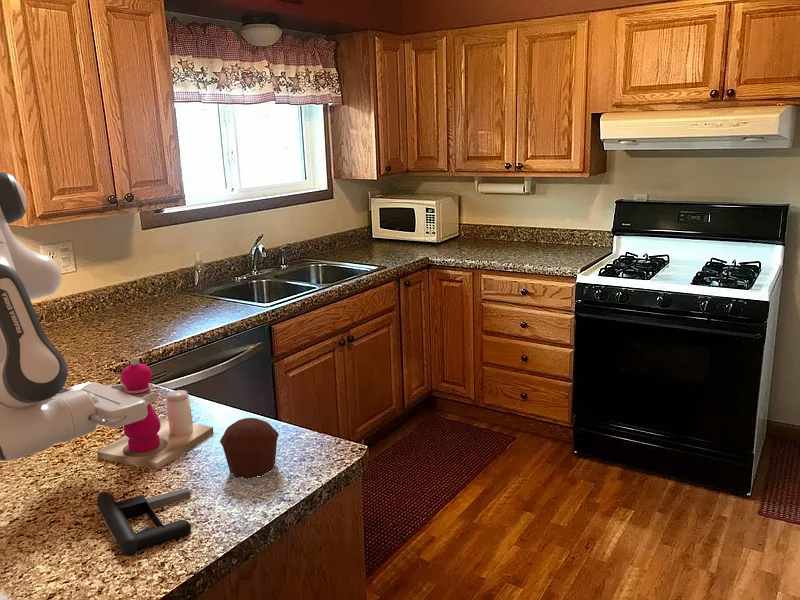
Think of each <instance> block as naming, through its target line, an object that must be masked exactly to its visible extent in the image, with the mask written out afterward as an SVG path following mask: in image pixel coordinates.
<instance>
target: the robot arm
mask: <svg viewBox="0 0 800 600" xmlns="http://www.w3.org/2000/svg"><path fill="white" fill-rule="evenodd" d="M26 208H27V196H26V192H25V190H24V189H23V185H21V184H20V182H18V180H16V178H15V176H14V175H12V174H10V173H8V172H6V171H5V172H3V171H0V461H2V462H3V461H5V462H6V461H15V460H19V459H22V458H26V457H29V456H31V455H36V454H38V453H40V452H43V451H46V450H49V448H52V446H54V445H56V444H60V443H65V442H70V441H72V440H75V439H77V438H80V437H83V436H85V435H88V434H91V433H93V432H95V431H96V429H97V426H98V425H100V426H106V427H108V428H119V427H124V425H127V424H131V423H134V422H137V421H140V420H143V419H145V418H146V417H147V415H148V411H147V406H148V405H149V404H150V403H154V402H156V401H157V400H158V396H157V392H153V391H151V392H148V393H145V396H143V397H135V396H132V395H130V394H127V393H126V391H125V388H126V386H124V385H123V383H122V382H121V383H120V384H119V383H118V384H110V385H106V384H103V383H100V382H97V381H88V382H83V383H79V384H76V385H73V386H68V387H66V388H65V387H64V386H65V385H66V383H67V379H68V373H69V372H68V364H67V362H66V360H65V357H64V356H63V355H62V353H61V352H60V351H59V350H58V349H57V347H56V346H55V345H54V344H53V343H52V342H51V341H50V340H49V339H50V338H48V337H47V335H46V333H45V331H44V329H43V326H42V324H41V321H40V320H39V316H37V315H38V314H37V313H36V310H35V308H34V305H33V303H32V300H36V299H39V298H44V297H46V296H50V295H55V293H56V292H57V291H58V290H59V288H60V286H61V283H62V277H63V276H62V271H61V268H60V266H59V264H58V263H57V262H56V260H54V258H52V257H51V256H49V255H45V254H42V253H39V252H37V251H34V250H32V249H31V248H29V247H27V246H25V245H24V244H23V243H21V242H20V241H19V240H18V239H17V238H16V237H15V236H14V234H13V232H12V230H11V228H10V226H9V224H12V223H14V222H17V221H19V220H21V219H23V217H24V216H25V214H26Z"/></svg>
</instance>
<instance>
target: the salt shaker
mask: <svg viewBox="0 0 800 600" xmlns="http://www.w3.org/2000/svg"><path fill="white" fill-rule="evenodd" d="M165 406H166V415H167V420H168V422H169V430H170V435H171V436H175V437H180V436H185V435H188V434H190V433H192V432H193V424H194V423H193V416H192V407H191V399H190V395H189V394H188V391H187V390H183V389H181V390H178V389H177V390H174V391H173V390H172V391H170V392H168V393H167V394H166V398H165Z"/></svg>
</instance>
